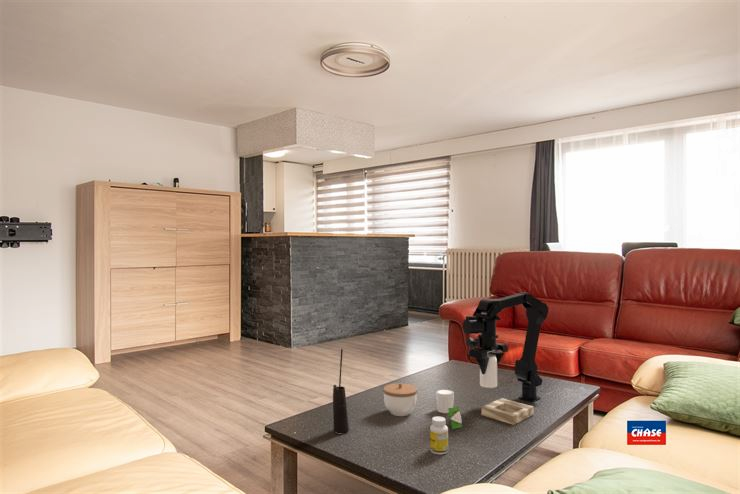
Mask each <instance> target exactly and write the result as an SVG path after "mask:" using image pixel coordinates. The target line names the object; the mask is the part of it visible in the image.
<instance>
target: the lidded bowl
mask: <svg viewBox="0 0 740 494" xmlns="http://www.w3.org/2000/svg"><path fill="white" fill-rule="evenodd" d="M382 391H383V401H384V406H385V407H386V409H387V410H388V411H389V412H390V414H391V415H392V414H393V415H392V416H395V417H406V416H409V415H410V414H411V412H413V410H414V408H416V404H417V398H418V388H417V386H415V385H413V384H409V383H402V382H398V383H391V384H390V383H389V384H387V385H385V386H384V387H383V389H382Z"/></svg>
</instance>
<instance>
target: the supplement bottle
mask: <svg viewBox="0 0 740 494" xmlns="http://www.w3.org/2000/svg"><path fill="white" fill-rule="evenodd" d="M431 422H432V424H431V425H430V427H429V450H430V452H431V453H432V454H435V455H445V454H447V453H448V452H449V427H448V426H447V425H446V424H447V423H446V422H447V418H446V417H445V416H433V417H432V418H431Z"/></svg>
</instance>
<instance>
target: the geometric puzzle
mask: <svg viewBox="0 0 740 494" xmlns="http://www.w3.org/2000/svg"><path fill="white" fill-rule="evenodd" d="M448 410H449V413H446V414H445V416H444V417H447V416H448V414H449V418H448V420H450V422H449V421H447V420H446V422H447V424H448V423H449V424H448V425H449V426H450V425H451V426H450V427H451V429H452V430H453V429H457V428H463V421H462V417H465V418H464V420H466V417H467V416H466V414H465V413H464V412H462V414H463V415H461V411H460V408H459V406H455V407H454V406H453V408H448Z"/></svg>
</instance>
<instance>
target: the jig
mask: <svg viewBox="0 0 740 494" xmlns="http://www.w3.org/2000/svg"><path fill="white" fill-rule="evenodd" d="M534 409H535V408H534V405H529V404H525V403H521V402H518V401H514V400H510V399H507V398H503V397H501V398H499V399H497V400H494V401H492V402H489V403H488V404H485V405H482V406H481V416H483V417H487V418H491V419H493V420H497V421H500V422H503V423H506V424H510V425H512V426H514V425H517V424H518V423H521V422H522V421H525V420H526V419H528V418H530V417H532V416H534Z"/></svg>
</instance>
